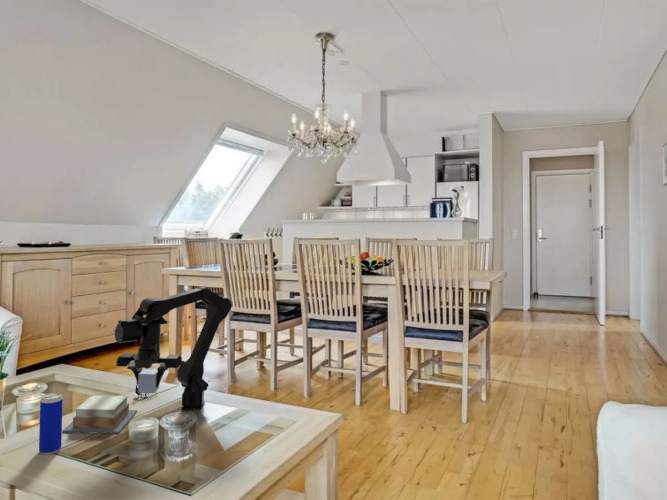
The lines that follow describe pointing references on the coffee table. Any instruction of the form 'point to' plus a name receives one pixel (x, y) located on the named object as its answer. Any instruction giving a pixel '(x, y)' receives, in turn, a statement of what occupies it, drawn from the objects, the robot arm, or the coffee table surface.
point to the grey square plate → (102, 430)
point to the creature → (139, 393)
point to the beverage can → (50, 423)
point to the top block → (147, 381)
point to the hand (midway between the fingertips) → (148, 387)
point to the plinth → (100, 420)
